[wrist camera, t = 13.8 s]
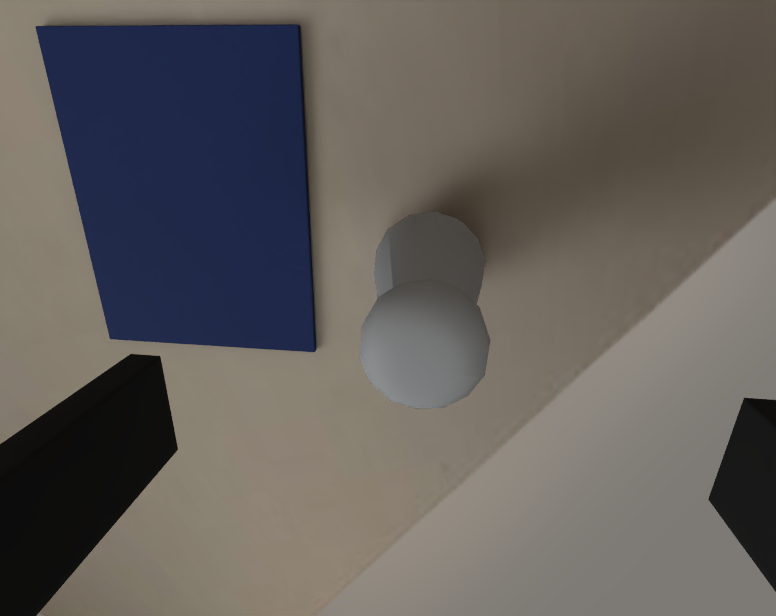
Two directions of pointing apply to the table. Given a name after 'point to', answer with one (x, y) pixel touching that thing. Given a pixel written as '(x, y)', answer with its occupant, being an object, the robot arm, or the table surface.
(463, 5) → the table surface
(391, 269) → the salt shaker
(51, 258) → the table surface
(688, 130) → the table surface
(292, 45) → the cloth
